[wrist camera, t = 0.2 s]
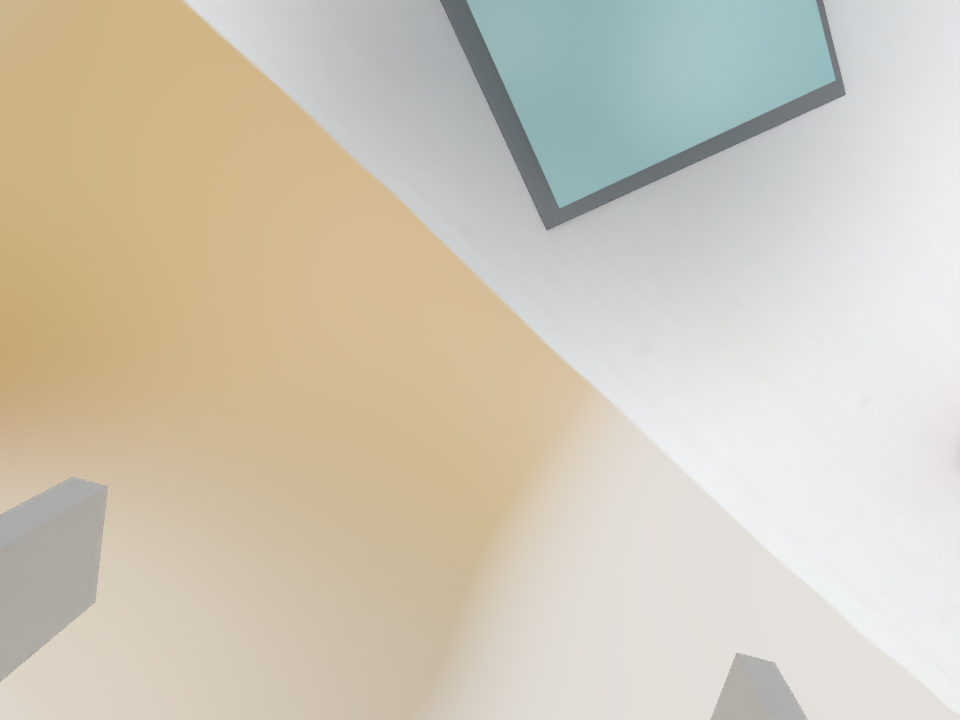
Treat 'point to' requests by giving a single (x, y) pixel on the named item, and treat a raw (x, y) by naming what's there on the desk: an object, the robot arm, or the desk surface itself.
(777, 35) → the cover cap
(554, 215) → the rubber mat
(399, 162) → the desk surface
